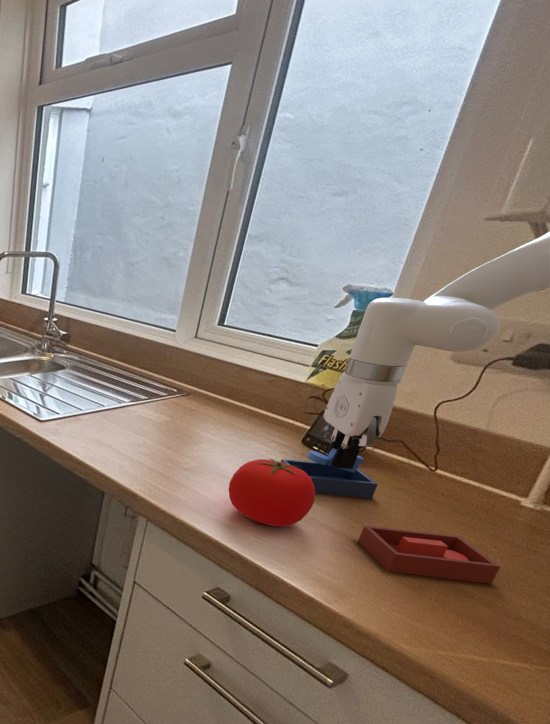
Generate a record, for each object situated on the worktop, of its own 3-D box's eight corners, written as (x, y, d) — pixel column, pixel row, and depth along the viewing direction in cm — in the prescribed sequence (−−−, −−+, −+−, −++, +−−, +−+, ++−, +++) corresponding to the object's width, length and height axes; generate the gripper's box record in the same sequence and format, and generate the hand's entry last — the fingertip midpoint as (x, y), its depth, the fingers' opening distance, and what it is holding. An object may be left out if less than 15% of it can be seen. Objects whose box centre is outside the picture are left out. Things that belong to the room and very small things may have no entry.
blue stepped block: (347, 467, 100) (357, 454, 99) (357, 475, 97) (367, 461, 96) (303, 454, 101) (312, 440, 100) (311, 461, 98) (321, 447, 97)
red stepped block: (404, 562, 78) (412, 545, 77) (391, 549, 81) (398, 533, 80) (471, 570, 76) (480, 553, 75) (455, 557, 79) (463, 540, 78)
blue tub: (348, 479, 103) (353, 465, 102) (372, 498, 96) (378, 483, 95) (277, 472, 106) (281, 459, 104) (295, 490, 99) (299, 476, 98)
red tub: (451, 552, 81) (459, 535, 80) (491, 584, 74) (500, 566, 73) (357, 541, 84) (364, 525, 82) (388, 571, 77) (395, 554, 76)
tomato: (312, 519, 90) (332, 464, 86) (289, 546, 83) (310, 487, 79) (238, 494, 98) (253, 442, 94) (211, 516, 91) (226, 462, 87)
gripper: (325, 358, 100) (296, 446, 107) (375, 382, 86) (337, 481, 93) (372, 360, 98) (339, 449, 105) (431, 385, 84) (388, 486, 91)
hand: (338, 464), depth 99 cm, fingers closed on blue stepped block, 1 cm apart
